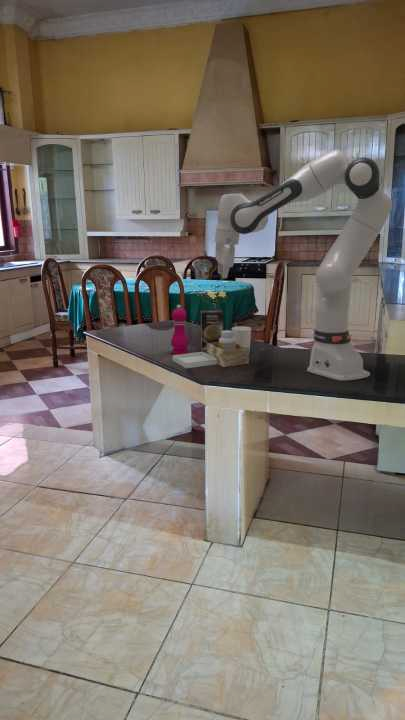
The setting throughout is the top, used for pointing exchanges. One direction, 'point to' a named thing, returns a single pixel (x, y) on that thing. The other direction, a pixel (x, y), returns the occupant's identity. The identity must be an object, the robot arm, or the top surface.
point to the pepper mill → (179, 332)
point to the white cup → (242, 336)
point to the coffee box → (211, 327)
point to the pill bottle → (227, 340)
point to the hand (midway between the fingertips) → (222, 275)
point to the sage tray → (194, 360)
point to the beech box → (229, 354)
